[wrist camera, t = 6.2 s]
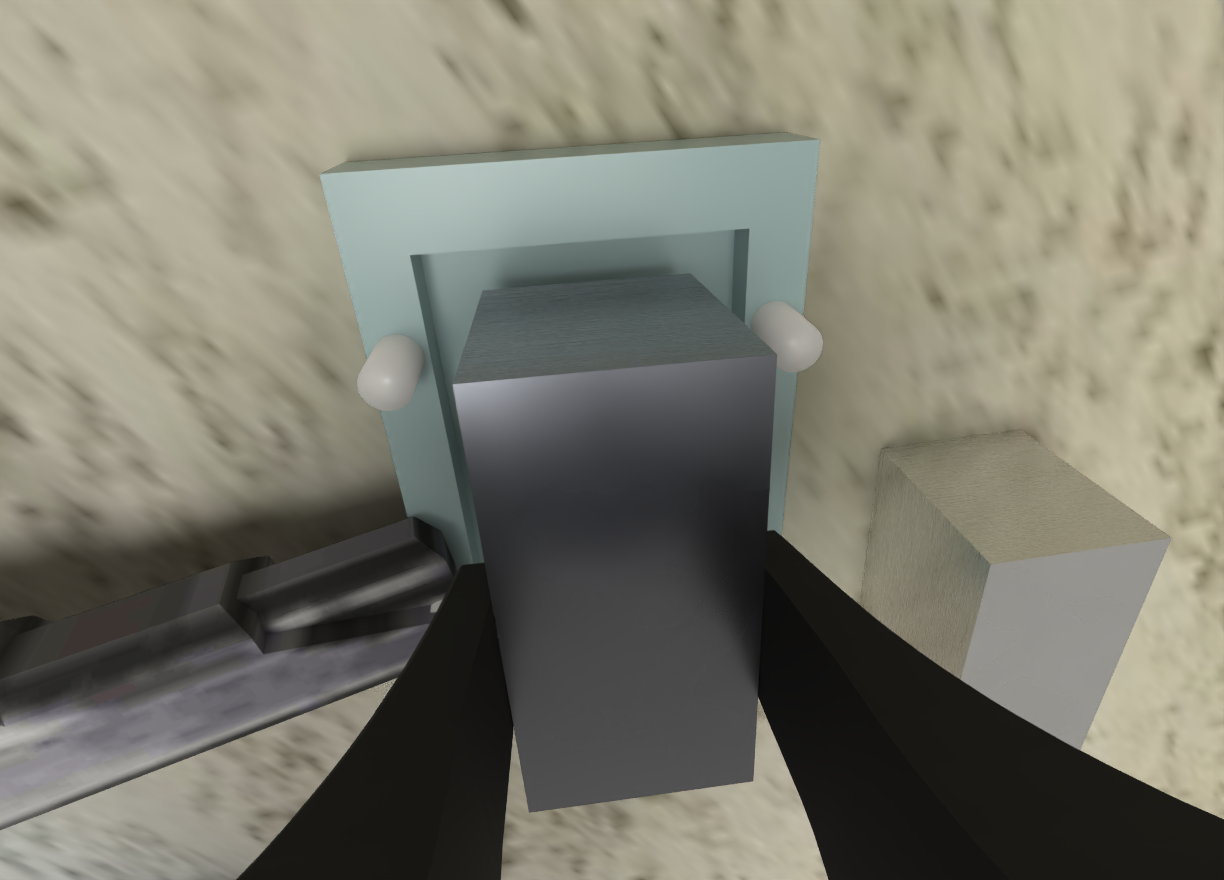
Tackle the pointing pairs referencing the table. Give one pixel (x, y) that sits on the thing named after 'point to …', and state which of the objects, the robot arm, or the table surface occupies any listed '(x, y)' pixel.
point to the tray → (560, 271)
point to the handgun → (206, 661)
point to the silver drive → (1009, 572)
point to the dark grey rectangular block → (622, 529)
